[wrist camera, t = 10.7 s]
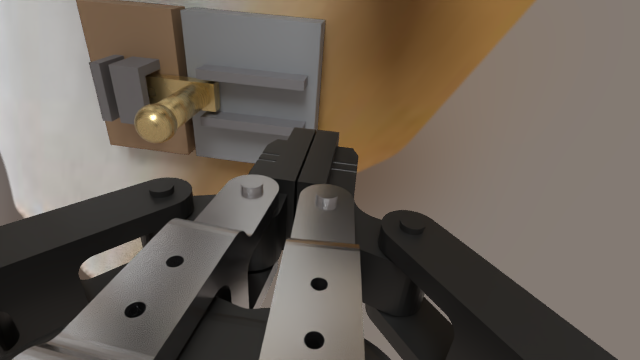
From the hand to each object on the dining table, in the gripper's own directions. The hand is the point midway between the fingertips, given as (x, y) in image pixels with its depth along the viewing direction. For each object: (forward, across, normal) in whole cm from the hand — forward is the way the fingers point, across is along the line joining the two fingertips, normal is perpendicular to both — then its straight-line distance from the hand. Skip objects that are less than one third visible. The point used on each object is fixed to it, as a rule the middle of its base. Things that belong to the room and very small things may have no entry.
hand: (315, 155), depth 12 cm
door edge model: (+29, +16, +7) cm, 34 cm away
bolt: (+26, +18, +7) cm, 32 cm away
